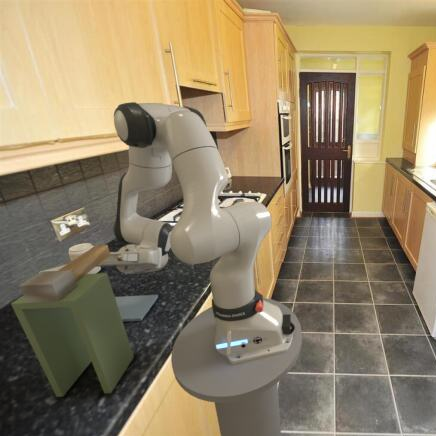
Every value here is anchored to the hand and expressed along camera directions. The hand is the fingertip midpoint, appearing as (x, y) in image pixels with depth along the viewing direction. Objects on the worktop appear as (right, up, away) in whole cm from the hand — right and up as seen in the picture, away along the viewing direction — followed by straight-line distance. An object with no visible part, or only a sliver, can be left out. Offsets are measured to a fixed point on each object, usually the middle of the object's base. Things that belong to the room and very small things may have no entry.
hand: (101, 258), depth 68 cm
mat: (-8, -20, +20) cm, 30 cm away
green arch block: (+1, -29, -2) cm, 29 cm away
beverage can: (-37, -13, +42) cm, 58 cm away
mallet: (0, -3, -7) cm, 8 cm away
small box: (-30, -19, +24) cm, 43 cm away
